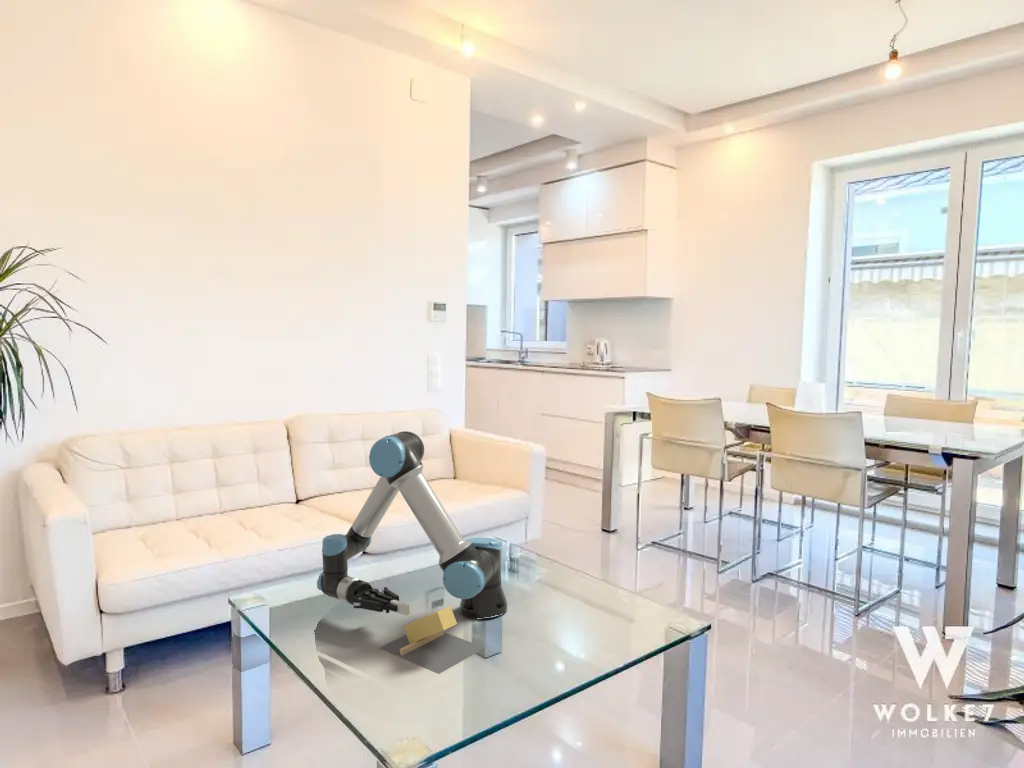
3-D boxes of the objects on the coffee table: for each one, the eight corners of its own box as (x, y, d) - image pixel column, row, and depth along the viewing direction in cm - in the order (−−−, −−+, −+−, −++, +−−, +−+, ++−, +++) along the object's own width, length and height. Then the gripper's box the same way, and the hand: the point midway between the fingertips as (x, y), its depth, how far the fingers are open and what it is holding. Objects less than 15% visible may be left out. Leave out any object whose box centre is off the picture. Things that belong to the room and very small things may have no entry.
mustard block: (403, 626, 184) (437, 612, 175) (416, 620, 188) (450, 606, 179) (409, 643, 183) (444, 630, 174) (422, 637, 187) (457, 623, 178)
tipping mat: (378, 650, 182) (378, 642, 182) (425, 628, 196) (425, 620, 196) (439, 676, 167) (438, 668, 166) (485, 650, 181) (485, 642, 180)
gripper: (372, 597, 206) (424, 615, 192) (338, 610, 196) (390, 631, 181) (371, 573, 206) (423, 590, 191) (337, 586, 196) (389, 604, 181)
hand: (407, 610), depth 186 cm, fingers closed
